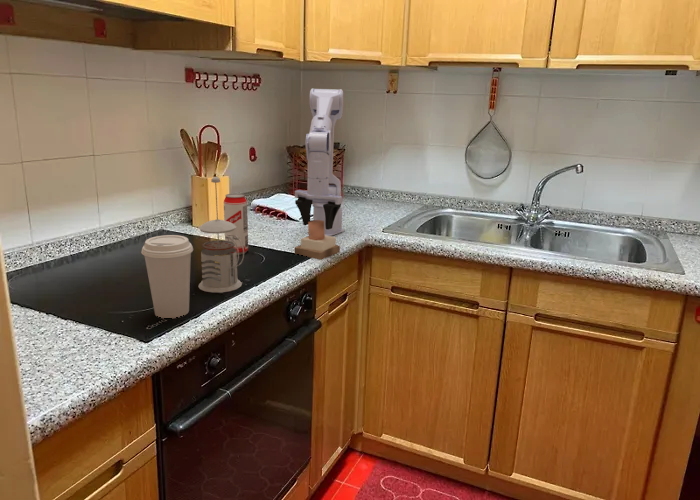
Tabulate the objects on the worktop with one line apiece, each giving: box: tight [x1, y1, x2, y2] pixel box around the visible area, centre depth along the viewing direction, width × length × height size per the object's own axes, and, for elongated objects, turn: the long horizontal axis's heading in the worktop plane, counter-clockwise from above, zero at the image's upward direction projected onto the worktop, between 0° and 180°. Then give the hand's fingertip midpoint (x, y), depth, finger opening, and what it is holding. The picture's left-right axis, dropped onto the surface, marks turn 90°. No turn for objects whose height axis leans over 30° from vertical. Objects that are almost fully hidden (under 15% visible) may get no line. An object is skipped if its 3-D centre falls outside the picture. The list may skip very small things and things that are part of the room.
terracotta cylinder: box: [307, 219, 325, 240], centre depth 147 cm, size 4×4×4 cm
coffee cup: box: [140, 234, 194, 319], centre depth 105 cm, size 10×10×15 cm
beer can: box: [223, 192, 249, 256], centre depth 146 cm, size 6×6×16 cm
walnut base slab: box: [294, 244, 341, 261], centre depth 149 cm, size 9×9×2 cm
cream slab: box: [300, 235, 337, 252], centre depth 149 cm, size 7×7×2 cm
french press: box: [198, 176, 245, 293], centre depth 119 cm, size 10×12×25 cm
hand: (317, 226), depth 147 cm, fingers open, 7 cm apart
